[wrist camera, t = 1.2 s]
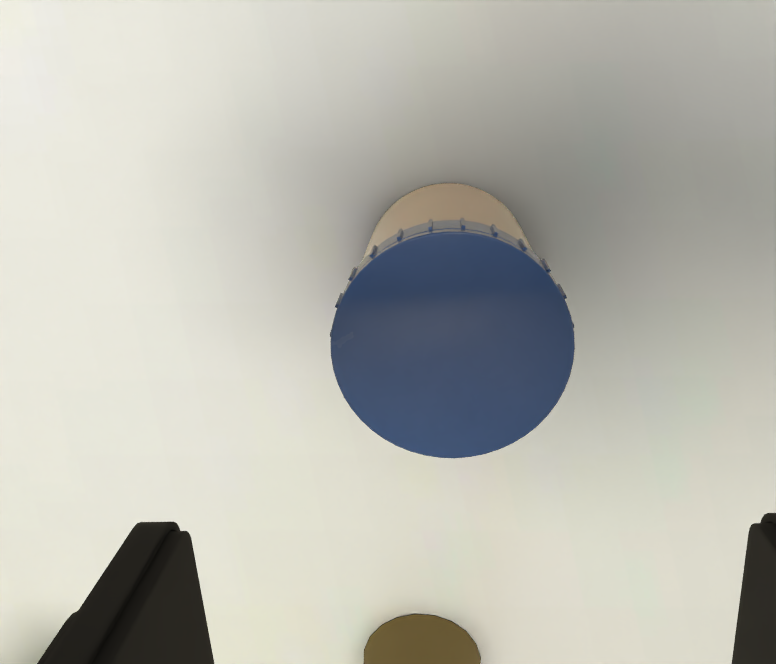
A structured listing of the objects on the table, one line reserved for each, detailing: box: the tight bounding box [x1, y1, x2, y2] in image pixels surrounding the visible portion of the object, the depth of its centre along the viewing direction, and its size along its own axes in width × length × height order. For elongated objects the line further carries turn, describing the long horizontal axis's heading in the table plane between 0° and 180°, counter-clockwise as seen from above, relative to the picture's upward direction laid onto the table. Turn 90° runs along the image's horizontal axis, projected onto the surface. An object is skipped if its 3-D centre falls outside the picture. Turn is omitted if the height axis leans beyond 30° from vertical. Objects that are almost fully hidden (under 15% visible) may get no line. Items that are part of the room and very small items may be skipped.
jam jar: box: [362, 183, 533, 261], centre depth 25 cm, size 7×7×9 cm
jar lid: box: [330, 218, 575, 458], centre depth 21 cm, size 7×7×2 cm
